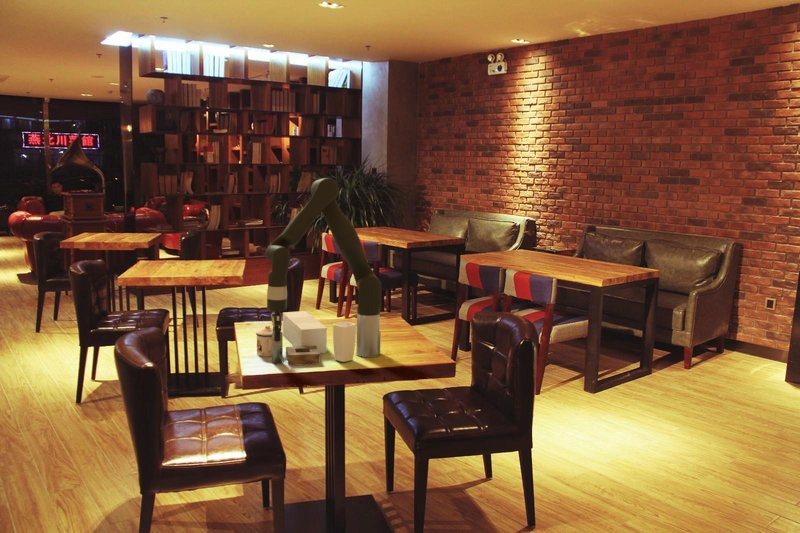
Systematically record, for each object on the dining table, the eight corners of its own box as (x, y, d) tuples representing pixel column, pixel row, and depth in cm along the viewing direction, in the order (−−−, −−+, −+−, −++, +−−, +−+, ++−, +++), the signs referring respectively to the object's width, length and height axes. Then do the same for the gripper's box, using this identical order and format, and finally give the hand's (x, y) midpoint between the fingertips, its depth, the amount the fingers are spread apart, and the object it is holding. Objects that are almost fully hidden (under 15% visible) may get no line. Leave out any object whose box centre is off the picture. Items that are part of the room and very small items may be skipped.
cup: (330, 360, 277) (331, 323, 275) (345, 356, 282) (345, 320, 280) (342, 364, 272) (343, 327, 270) (356, 360, 277) (357, 324, 275)
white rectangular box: (326, 353, 287) (326, 327, 286) (301, 355, 283) (301, 329, 281) (305, 334, 316) (306, 311, 315) (282, 335, 312) (282, 312, 310)
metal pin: (282, 361, 274) (282, 331, 272) (282, 364, 270) (282, 333, 268) (271, 361, 273) (271, 331, 271) (272, 364, 269) (272, 334, 267)
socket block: (315, 355, 283) (315, 345, 283) (319, 363, 272) (319, 353, 271) (285, 356, 280) (285, 346, 280) (288, 365, 269) (288, 355, 268)
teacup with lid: (254, 351, 286) (254, 323, 284) (277, 349, 289) (277, 322, 287) (258, 359, 275) (258, 330, 273) (282, 358, 278) (282, 329, 276)
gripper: (288, 301, 262) (287, 342, 264) (285, 293, 275) (284, 333, 278) (268, 301, 260) (267, 343, 263) (266, 293, 274) (265, 333, 276)
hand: (276, 338), depth 270 cm, fingers open, 8 cm apart
